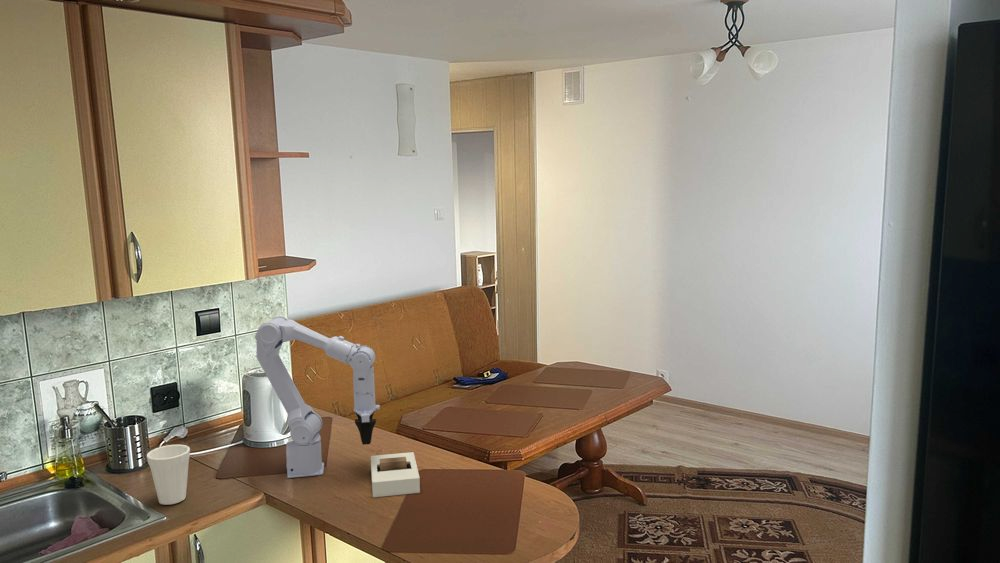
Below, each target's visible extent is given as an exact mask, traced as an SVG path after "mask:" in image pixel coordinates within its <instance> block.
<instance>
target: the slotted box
mask: <svg viewBox="0 0 1000 563" xmlns="http://www.w3.org/2000/svg"><path fill="white" fill-rule="evenodd" d="M396 457H406V462H407V469H402V470H391V471H381V472H380V459H384V458H396ZM370 473H371V490H372V498H380V497H390V496H398V495H399V496H400V495H410V494H420V493H421V486H420V485H421V483H420V480H421V478H420V474H419V469H418V466H417V462H416V457H415V452H412V451H411V452H410V451H409V452H402V453H401V452H400V453H388V454H379V455H378V454H377V455H370Z"/></svg>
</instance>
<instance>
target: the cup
mask: <svg viewBox="0 0 1000 563" xmlns="http://www.w3.org/2000/svg"><path fill="white" fill-rule="evenodd" d="M190 454H191V448H190V446H188V445H186V444H168V445H163V446H159V447H156V448H154V449H151V450H149V452H147V454H146V460H147V463H148V465H149V467H150V471H151V475H152V479H153V484H154V488H155V492H156V496H157V499H158V503H159V504H160V505H174V504H178V503H180V502H182V501H184V500H185V499H186V496H187V487H188V473H189V461H190V458H191V455H190Z"/></svg>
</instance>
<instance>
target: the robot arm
mask: <svg viewBox="0 0 1000 563" xmlns="http://www.w3.org/2000/svg"><path fill="white" fill-rule="evenodd" d="M254 339H255V340H256V359H257V361H258V363H259V364H260V366H261V368H262V370H263V372H264V373H265V375H266V377H267V379H268V381H269V383H270V385H271V386H272V388H273V390H274V392H275V394H276V395H277V396H278V399H279V401H280V403H281V405H282V406H283V408H284V410H285V412H286V414H287V425H288V427H289V431H290V432H289V433H290V438H291V441H287V442H286V448H285V453H286V454H285V456H286V464H285V465H286V466H285V467H286V474H287V475H286V478H287V479H291V478H303V477H304V478H305V477H313V476H322V475H323V474H324V468H325V462H323V460H322V457H323V456H322V442H321V441H322V438H321V435H320V431H321V429H322V427H323V420H322V417H321V416H320V415H319V414H318V413H316V412H315V411H314V410H313V407H312V406H311V405H309V404H307V403H306V402H305V400H304V399H303V397H302V395H301V393H300V392H299V389H298V388H297V386H296V384H295V382H294V381H293V378H292V376H291V375H290V373H289V371H288V369H287V368H286V366H285V364H284V362H283V360H282V358H281V357H280V355H279V353H280V350H281V348H282V345H283V344H284V343H287V342H292V341H296V340H297V341H299V342H302V343H305V344H307V345H311V346H313V347H316V348H319V349H322V350H323V351H324V353H325V355H326V356H327V357H329V358H332V359H335V360H337V361H339V362H341V363H344V364H345V365H350V367H351V369H352V371H353V372H352V373H353V375H352V383H353V385H352V386H353V404H354V405H353V412H354V413H355V415H356V417H357V419H354V424H355V426H356V427H357V429H358V432H359V436H360V441H361V444H362V445H363V446H364V445H371V443H372V436H373V431H374V427H375V425H376V423H377V418H373V416H374V415H375V412H376V410H380V409H381V405H380V404H376V388H375V387H376V386H375V383H376V382H375V373H374V372H375V371H374V370H375V368H374V365H373V364H374V362H375V361H376V353H375V351H374V349H373V348H371V347H370V346H369V345H361V344H360V343H353V342H350V341H349V340H345V337H344V336H342V335H339V336H336V335H335V336H332V337H330V338H329V337H328V336H326V335H324V334H321V333H319V332H317V331H315V330H313V329H310V328H308V327H306V326H305V325H302V324H301V323H298V322H296V321H295V320H293V319H290V318H289V319H288V318H286V317H284V316H280V315H279V316H275V317H273V318H272V319H270V320H269V321H267V322H264V323H262V324H260V326H259V327H258V329H257V331H256V333H255V335H254Z"/></svg>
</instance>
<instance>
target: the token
mask: <svg viewBox="0 0 1000 563" xmlns="http://www.w3.org/2000/svg"><path fill="white" fill-rule="evenodd" d="M402 469H408V467H407V462H406V457H396V458H384V459H380V470H379V472H381V471H391V470H402Z"/></svg>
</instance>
